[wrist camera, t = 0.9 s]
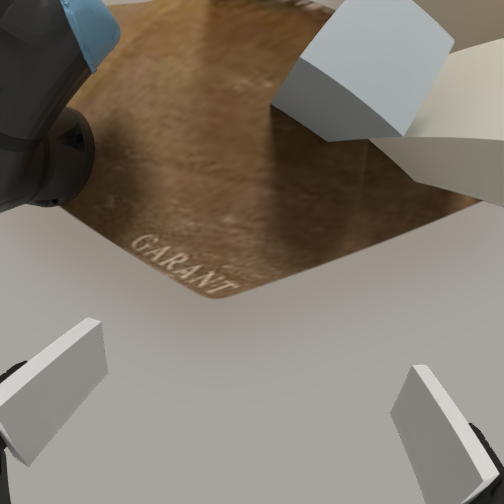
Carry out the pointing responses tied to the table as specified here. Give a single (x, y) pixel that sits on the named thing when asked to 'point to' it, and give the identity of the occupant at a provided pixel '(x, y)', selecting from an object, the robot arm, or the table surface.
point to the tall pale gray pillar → (366, 71)
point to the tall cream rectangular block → (459, 127)
